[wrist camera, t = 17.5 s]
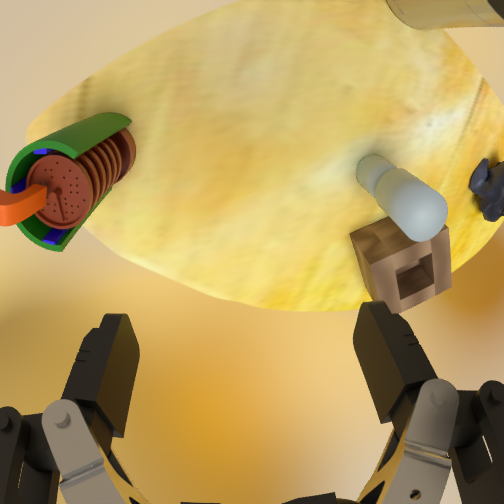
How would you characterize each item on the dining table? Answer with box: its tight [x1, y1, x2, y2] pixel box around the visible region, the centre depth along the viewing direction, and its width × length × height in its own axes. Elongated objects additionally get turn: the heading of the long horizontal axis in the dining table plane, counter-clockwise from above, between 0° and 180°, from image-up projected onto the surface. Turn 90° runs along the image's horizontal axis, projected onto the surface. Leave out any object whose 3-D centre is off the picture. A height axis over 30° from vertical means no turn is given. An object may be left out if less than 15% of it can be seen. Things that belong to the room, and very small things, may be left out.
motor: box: [0, 113, 136, 252], centre depth 27 cm, size 10×9×20 cm
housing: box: [350, 217, 451, 314], centre depth 42 cm, size 12×11×8 cm
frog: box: [470, 158, 504, 222], centre depth 37 cm, size 9×11×7 cm
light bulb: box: [356, 155, 448, 242], centre depth 33 cm, size 5×5×14 cm
